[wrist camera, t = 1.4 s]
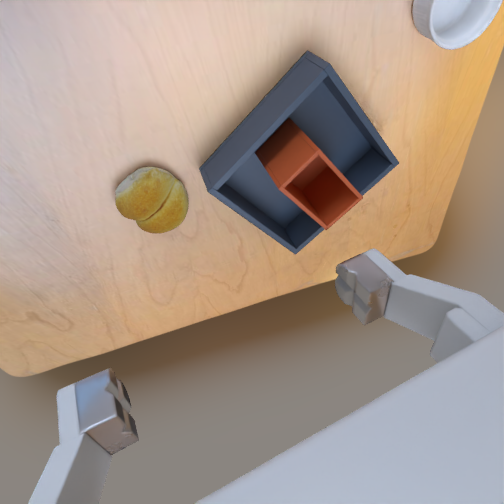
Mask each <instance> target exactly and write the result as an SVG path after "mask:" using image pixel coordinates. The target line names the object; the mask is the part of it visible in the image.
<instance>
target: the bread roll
mask: <svg viewBox="0 0 504 504" xmlns="http://www.w3.org/2000/svg"><path fill="white" fill-rule="evenodd" d="M115 193H116V206H117V209H118V210H119V212H120V213H121V214H122V215H123V216H124V217H126V218H128V219H133V220H136V223H137V224H138V226H139V227H140V228H141V229H142V230H144V231H146V232H150V233H164V232H167V231H170V230H172V229H174V228H176V227H177V226H179V225H180V224H181V223H182V222H183V220H184V219H185V217H186V214H187V210H188V195H187V192H186V189H185V187H184V186H183V184H182V183H181V181H179V180H178V179H177V178H175V177H174V176H173V175H172V174H171V173H169V172H168V171H166V170H163V169H161V168H156V167H144V168H139V169H138V170H136V171H135V172H133V173H132V174H130V175H129V176H128V177H127V178H126V179H124V181H123V182H122V183H121V184H120V185H119V186H118V187H117V189H116V192H115Z"/></svg>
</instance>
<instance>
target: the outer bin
mask: <svg viewBox="0 0 504 504" xmlns="http://www.w3.org/2000/svg"><path fill="white" fill-rule="evenodd" d="M288 118H290V119H291V120H292V121H293V122H294V123H295V124H296V125H297V126H298V127H299V128H300V129H301V130H302V131H303V132H304V133H305V134H306V135H307V136H308V137H309V138H310V139H311V140H312V142H313V143H314V144H315V145H316V146H317V147H318V148H319V149H320V150H321V151H322V152H323V153H324V154H325V155H326V157H327V158H328V159H329V160H330V161H331V162H332V163H333V164H334V165H335V166H336V168H337V169H338V170H339V171H340V172H341V173H342V174H343V175H344V176H345V178H346V179H347V180H348V181H349V182H350V183H351V184H352V185H353V186H354V188H355V189H356V190H357V191H358V192H359V193H360V194H361V195H362V196H363V195H364V194H365V193H366V192H367V191H368V190H370V189H371V188H372V187H373V186H374V185H375V184H376V183H377V182H379V181H380V180H381V179H382V178H383V177H384V176H385V175H387V174H388V173H389V172H390V171H391V170H392V169H393V168H394V167H396V166H397V165H398V164H399V162H398V160H397V159H396V157H395V156H394V155H393V153H392V152H391V150H390V149H389V147H388V146H387V145H386V143H385V142H384V140H383V139H382V137H381V136H380V135H379V133H378V132H377V130H376V129H375V127H374V126H373V125H372V123H371V122H370V120H369V119H368V117H367V116H366V115H365V113H364V112H363V110H362V109H361V107H360V106H359V105H358V103H357V102H356V100H355V99H354V97H353V96H352V95H351V93H350V92H349V90H348V89H347V87H346V86H345V85H344V83H343V82H342V80H341V79H340V77H339V76H338V74H337V73H336V72H335V70H334V69H333V67H332V66H331V64H329V63H328V62H326V61H324V60H323V59H321V58H319V57H318V56H316V55H315V54H313V53H311V52H309V51H306V53H305V54H304V55H303V56H302V57H301V58H300V59H299V60H298V61H297V62H296V63H295V65H294V66H293V67H292V68H291V69H290V70H289V71H288V72H287V73H286V74H285V75H284V77H283V78H282V79H281V80H280V81H279V82H278V83H277V84H276V85H275V86H274V88H273V89H272V90H271V91H270V92H269V93H268V94H267V95H266V96H265V97H264V98H263V100H262V101H261V102H260V103H259V104H258V105H257V106H256V107H255V108H254V109H253V110H252V112H251V113H250V114H249V115H248V116H247V117H246V118H245V119H244V120H243V121H242V122H241V124H240V125H239V126H238V127H237V128H236V129H235V130H234V131H233V132H232V133H231V134H230V136H229V137H228V138H227V139H226V140H225V141H224V142H223V143H222V144H221V145H220V146H219V148H218V149H217V150H216V151H215V152H214V153H213V154H212V155H211V156H210V157H209V159H208V160H207V161H206V162H205V163H204V164H203V165H202V166H201V167H200V168H199V170H200V172H201V175H202V177H203V180H204V183H205V185H206V188H207V191H208V192H209V193H210V194H211V195H213V196H214V197H216V198H217V199H218V200H220V201H221V202H223V203H224V204H225V205H227V206H228V207H230V208H231V209H232V210H234V211H235V212H237V213H238V214H239V215H241V216H242V217H244V218H245V219H247V220H248V221H249V222H251V223H252V224H254V225H255V226H256V227H258V228H259V229H261V230H262V231H263V232H265V233H266V234H268V235H269V236H270V237H272V238H273V239H275V240H276V241H277V242H279V243H280V244H282V245H283V246H284V247H286V248H287V249H289V250H290V251H291V252H293V253H294V254H297V253H298V252H299V251H300V250H301V249H302V248H304V247H305V246H306V245H307V244H308V243H309V242H310V241H311V240H313V239H314V238H315V237H316V236H317V235H318V234H319V233H321V232H322V231H323V230H324V228H323V227H322V226H321V225H320V224H318V223H317V222H316V221H315V220H314V219H313V218H311V217H310V216H309V215H308V214H307V213H306V212H304V211H303V210H302V209H301V208H300V207H299V206H298V205H296V204H295V203H294V202H293V201H292V200H291V199H289V198H288V197H287V196H286V195H285V194H284V193H282V192H281V191H280V190H279V189H278V188H277V186H276V184H275V183H274V181H273V180H272V178H271V177H270V175H269V174H268V172H267V171H266V169H265V168H264V166H263V165H262V163H261V162H260V160H259V159H258V157H257V156H256V154H255V152H256V151H257V150H258V149H259V148H260V147H261V146H262V145H263V144H264V143H265V142H266V141H267V140H268V139H269V138H270V137H271V136H272V135H273V134H274V133H275V132H276V130H277V129H278V128H279V127H280V126H281V125H282V124H283V123H284V122H285V121H286V120H287V119H288Z"/></svg>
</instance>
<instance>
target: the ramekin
mask: <svg viewBox="0 0 504 504" xmlns="http://www.w3.org/2000/svg"><path fill="white" fill-rule="evenodd" d="M502 1H503V0H414V2H413V20H414V24H415V26H416V28H417V30H418V31H419V33H420V34H422V35H423V36H425V37H427V38H429V39H431V40H432V41H434V42H435V43H436V44H437V45H438V46H440V47H441V48H444V49H450V50H451V49H458V48H461V47H464V46H466V45H468V44H469V43H471V42H472V41H474V40H475V39H476V38H477V37H479V36H480V35H481V34H482V33H483V32H484V30H485V29H486V28H487V27H488V26H489V24H490V23H491V22H492V20H493V19H494V17H495V15H496V14H497V12H498V10H499V8H500V6H501V4H502Z"/></svg>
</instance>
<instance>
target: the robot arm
mask: <svg viewBox="0 0 504 504" xmlns="http://www.w3.org/2000/svg"><path fill="white" fill-rule="evenodd" d="M336 273H337V274H338V277H337V278H336V280H335V288H336V291H337V294H338V295H339V297H340V299H341V300H342V301H343V302H344V303H345V304H348V305H351V306H352V312H353V313H354V315H355V316H356V317H357V318H358V319H359V320H360V321H361V322H362V324H363V325H366V324H368V323H370V322H372V321H374V320H376V319H378V318H381V317H382V316H384V317H385V318H386V319H389V320H391V321H393V322H395V323H397V324H399V325H402V326H404V327H406V328H408V329H410V330H412V331H415V332H417V333H419V334H421V335H423V336H425V337H428V338H430V339H432V340H434V343H433V346H432V348H431V350H430V356H431V357H432V358H433V359H434V360H435V361H436V362H437V364H435V365H434V366H432V367H430V368H428V369H427V370H425V371H423V372H421V373H420V374H418V375H416V376H415V377H413V378H411V379H409V380H408V381H406V382H404V383H402V384H401V385H399V386H398V387H395V388H394V389H392V390H390V391H389V392H387V393H385V394H383V395H382V396H380V397H378V398H376V399H375V400H373V401H371V402H369V403H368V404H366V405H364V406H362V407H361V408H359V409H357V410H356V411H354V412H352V413H350V414H349V415H347V416H345V417H343V418H342V419H340V420H338V421H337V422H335V423H333V424H331V425H330V426H328V427H326V428H324V429H323V430H321V431H319V432H317V433H316V434H314V435H312V436H310V437H309V438H307V439H305V440H303V441H302V442H300V443H299V444H296V445H295V446H293V447H291V448H290V449H288V450H286V451H284V452H283V453H281V454H280V455H277V456H276V457H274V458H272V459H270V460H269V461H267V462H266V463H264V464H262V465H260V466H258V467H257V468H255V469H253V470H251V471H250V472H248V473H247V474H244V475H243V476H241V477H239V478H238V479H236V480H234V481H232V482H231V483H229V484H227V485H225V486H224V487H222V488H220V489H218V490H217V491H215V492H213V493H212V494H210V495H208V496H206V497H205V498H203V499H201V500H199V501H198V502H196V503H194V504H504V314H503V313H502V312H501V311H500V310H498V309H497V308H496V307H495V306H493V305H492V304H490V303H489V302H488V301H487V300H486V299H484V298H483V297H482V296H480V295H479V294H476V293H473V292H469V291H466V290H463V289H459V288H456V287H452V286H449V285H445V284H442V283H438V282H435V281H432V280H428V279H425V278H422V277H418V276H414V275H406V274H404V273H403V272H402V271H401V270H400V269H399V268H398V267H396V266H395V265H394V264H393V263H392V262H391V261H390V260H388V259H387V258H386V257H385V256H384V255H383V254H381V253H380V252H379V251H378V250H376V249H371V250H369V251H366V252H364V253H362V254H359V255H357V256H355V257H353V258H350V259H348V260H346V261H344V262H342V263H340V264H338V265H337V267H336ZM130 409H131V404H130V399H129V396H128V394H127V391H126V389H125V387H124V385H123V383H122V382H121V380H118V379H116V376H115V372H114V371H113V370H112V369H111V368H108V369H106V370H104V371H101V372H100V373H97V374H94V375H92V376H90V377H88V378H85V379H83V380H81V381H78V382H76V383H73V384H71V385H69V386H67V387H65V388H62V389H60V390H58V393H57V410H58V422H59V423H58V424H59V439H60V445H58V446H57V447H55V448H54V450H53V452H52V454H51V456H50V459H49V460H48V463H47V465H46V467H45V469H44V471H43V473H42V475H41V477H40V479H39V482H38V484H37V486H36V488H35V490H34V492H33V494H32V496H31V498H30V501H29V503H28V504H99V501H100V498H101V494H102V490H103V487H104V484H105V480H106V477H107V473H108V470H109V466H110V463H111V459H112V456H111V455H113V454H114V453H116V452H118V451H120V450H122V449H124V448H126V447H127V446H129V445H131V444H133V443H135V442H137V441H138V440H139V439H138V434H137V430H136V425H135V421H134V419H133V418H132V417H131V416H130V414H129V412H130Z"/></svg>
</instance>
